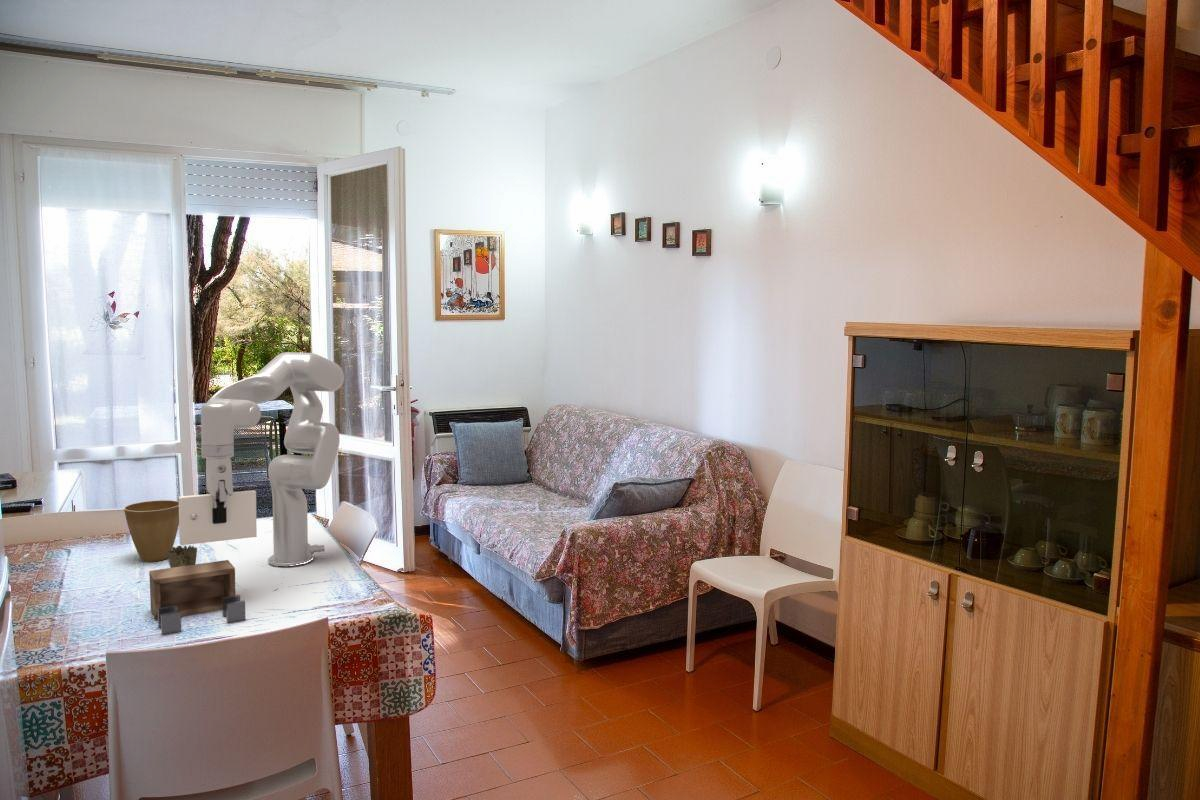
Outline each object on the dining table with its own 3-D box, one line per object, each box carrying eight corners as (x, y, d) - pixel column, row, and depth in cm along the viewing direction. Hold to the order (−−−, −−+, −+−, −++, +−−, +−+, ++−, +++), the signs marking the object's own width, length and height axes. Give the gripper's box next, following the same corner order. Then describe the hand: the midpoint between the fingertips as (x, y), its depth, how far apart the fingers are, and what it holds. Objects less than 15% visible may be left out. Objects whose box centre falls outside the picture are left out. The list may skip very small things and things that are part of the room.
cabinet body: (228, 597, 221) (227, 559, 220) (235, 606, 215) (234, 568, 214) (150, 610, 211) (149, 570, 210) (155, 620, 205) (154, 579, 204)
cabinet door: (254, 535, 227) (254, 490, 226) (257, 537, 224) (256, 492, 223) (179, 543, 217) (178, 496, 216) (181, 546, 214) (180, 498, 213)
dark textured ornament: (185, 582, 233) (185, 553, 232) (161, 580, 234) (160, 551, 233) (203, 574, 240) (203, 546, 239) (180, 571, 241) (179, 544, 240)
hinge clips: (239, 612, 211) (239, 594, 211) (245, 619, 206) (245, 601, 206) (158, 626, 201) (157, 607, 200) (162, 634, 196) (161, 615, 196)
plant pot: (191, 551, 261) (190, 499, 259) (168, 566, 246) (166, 511, 245) (141, 550, 261) (139, 499, 259) (115, 565, 246) (113, 510, 244)
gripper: (239, 454, 214) (240, 527, 216) (227, 446, 227) (228, 514, 229) (207, 456, 210) (208, 530, 212) (196, 447, 223) (197, 517, 225)
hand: (218, 521), depth 220 cm, fingers closed on cabinet door, 2 cm apart
